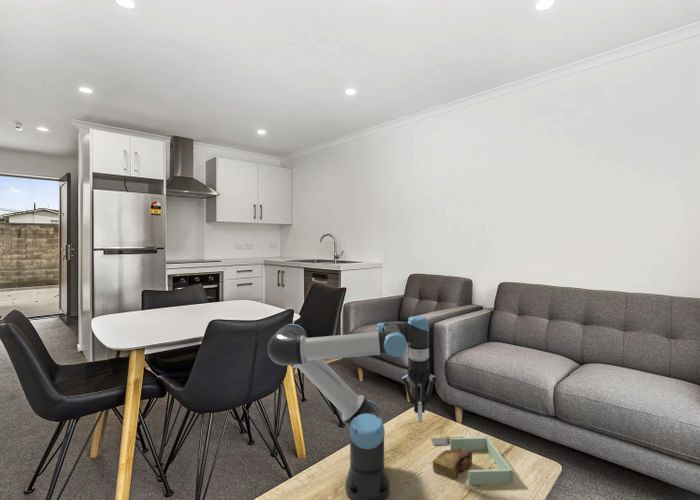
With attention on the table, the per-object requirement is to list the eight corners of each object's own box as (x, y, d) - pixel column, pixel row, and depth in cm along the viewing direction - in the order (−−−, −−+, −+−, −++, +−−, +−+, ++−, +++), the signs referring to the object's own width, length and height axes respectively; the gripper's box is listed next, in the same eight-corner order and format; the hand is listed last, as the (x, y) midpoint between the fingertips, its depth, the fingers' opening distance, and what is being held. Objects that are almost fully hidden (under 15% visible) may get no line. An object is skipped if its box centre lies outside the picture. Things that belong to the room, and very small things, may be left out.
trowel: (433, 445, 150) (433, 441, 150) (431, 439, 154) (431, 436, 154) (467, 444, 150) (467, 440, 150) (463, 438, 155) (463, 435, 155)
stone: (452, 482, 127) (452, 467, 127) (430, 470, 134) (430, 456, 134) (474, 465, 137) (474, 451, 137) (453, 455, 144) (453, 442, 144)
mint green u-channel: (469, 484, 125) (469, 471, 125) (450, 448, 147) (450, 438, 147) (513, 483, 126) (513, 470, 126) (487, 448, 148) (487, 437, 148)
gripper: (403, 361, 132) (404, 426, 132) (438, 361, 132) (439, 425, 132) (399, 355, 139) (400, 416, 139) (433, 354, 139) (434, 415, 140)
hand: (419, 420), depth 136 cm, fingers closed
